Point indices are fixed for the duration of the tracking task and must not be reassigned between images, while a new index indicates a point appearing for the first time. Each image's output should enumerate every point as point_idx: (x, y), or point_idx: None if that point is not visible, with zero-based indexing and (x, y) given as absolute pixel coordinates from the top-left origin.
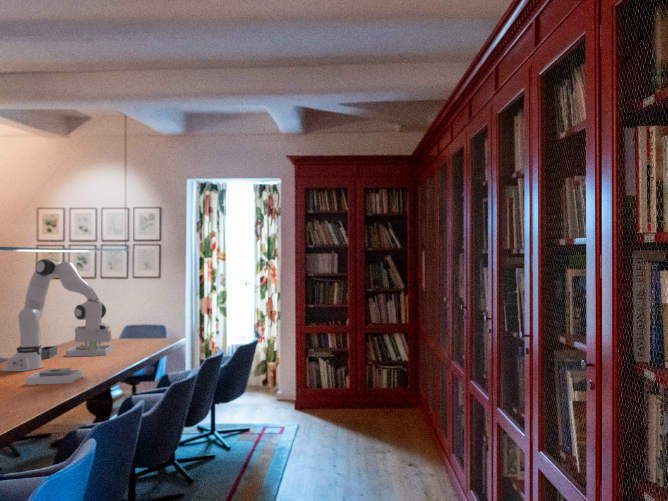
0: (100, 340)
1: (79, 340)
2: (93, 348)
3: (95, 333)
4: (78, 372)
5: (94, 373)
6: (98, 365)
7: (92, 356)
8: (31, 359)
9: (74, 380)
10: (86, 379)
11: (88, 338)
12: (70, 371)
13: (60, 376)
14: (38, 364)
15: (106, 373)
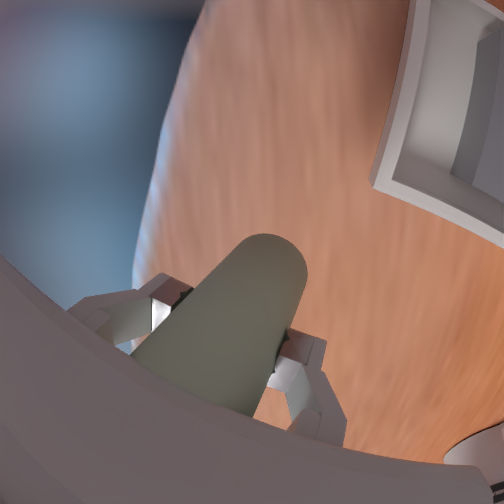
0: (34, 308)
1: (437, 488)
2: (217, 283)
3: (1, 478)
4: (403, 75)
5: (291, 226)
6: (267, 405)
7: (270, 235)
8: (497, 459)
9: (409, 9)
10: (339, 42)
11: (227, 492)
12: (455, 206)
13: (495, 8)
14: (472, 450)
15: (218, 185)
